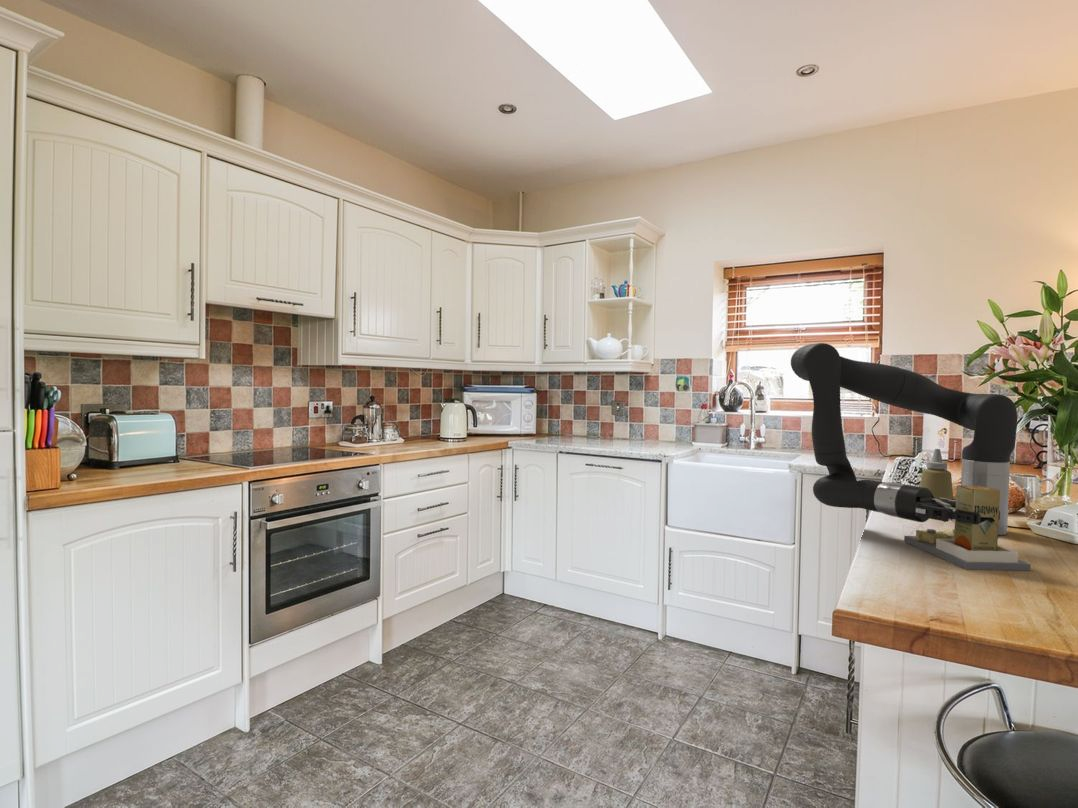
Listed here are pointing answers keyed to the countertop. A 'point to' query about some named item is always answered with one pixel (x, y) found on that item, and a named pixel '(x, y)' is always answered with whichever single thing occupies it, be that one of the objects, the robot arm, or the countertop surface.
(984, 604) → the countertop surface
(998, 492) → the shoe polish box
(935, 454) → the squeeze bottle
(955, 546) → the square socket
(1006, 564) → the gear board
